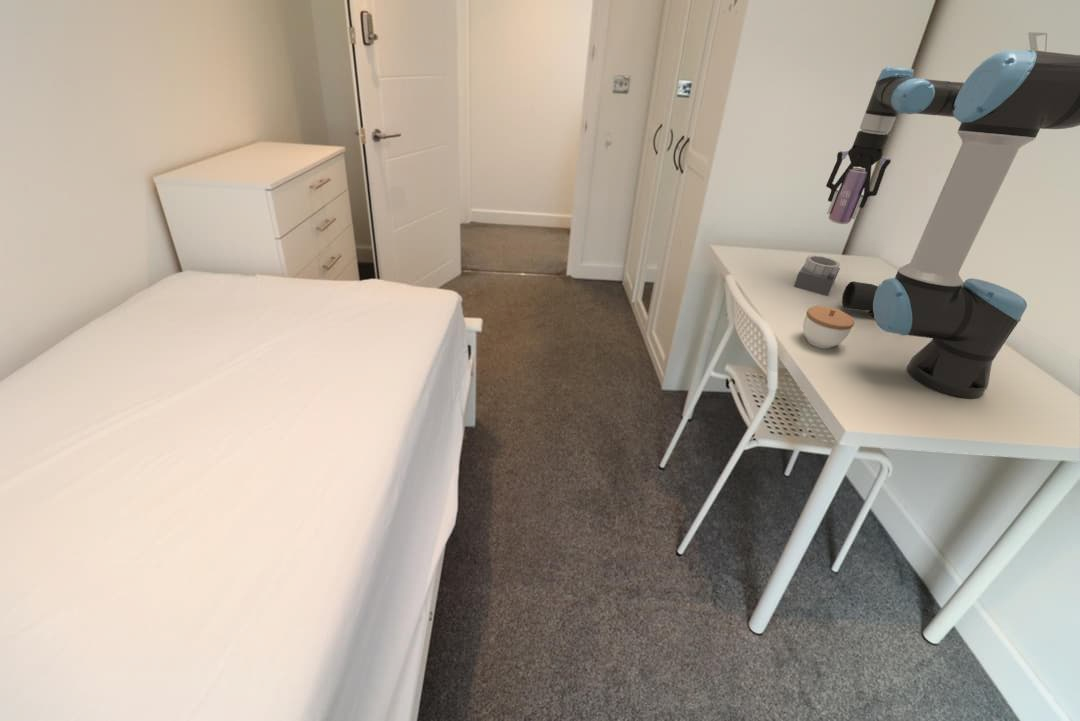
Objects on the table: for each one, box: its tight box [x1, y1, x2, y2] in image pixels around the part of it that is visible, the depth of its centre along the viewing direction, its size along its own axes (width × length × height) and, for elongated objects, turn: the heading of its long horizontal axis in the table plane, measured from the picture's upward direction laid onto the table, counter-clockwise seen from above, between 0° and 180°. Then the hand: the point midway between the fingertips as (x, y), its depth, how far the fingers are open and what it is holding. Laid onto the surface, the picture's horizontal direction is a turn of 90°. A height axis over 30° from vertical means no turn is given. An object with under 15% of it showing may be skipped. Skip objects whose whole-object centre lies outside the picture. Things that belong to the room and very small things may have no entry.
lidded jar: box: [802, 305, 855, 350], centre depth 127 cm, size 11×11×9 cm
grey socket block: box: [793, 254, 841, 297], centre depth 161 cm, size 14×10×8 cm
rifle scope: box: [841, 281, 879, 319], centre depth 143 cm, size 10×26×10 cm, turn 78°
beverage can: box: [828, 167, 868, 225], centre depth 149 cm, size 6×6×15 cm
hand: (841, 215), depth 152 cm, fingers closed on beverage can, 6 cm apart
